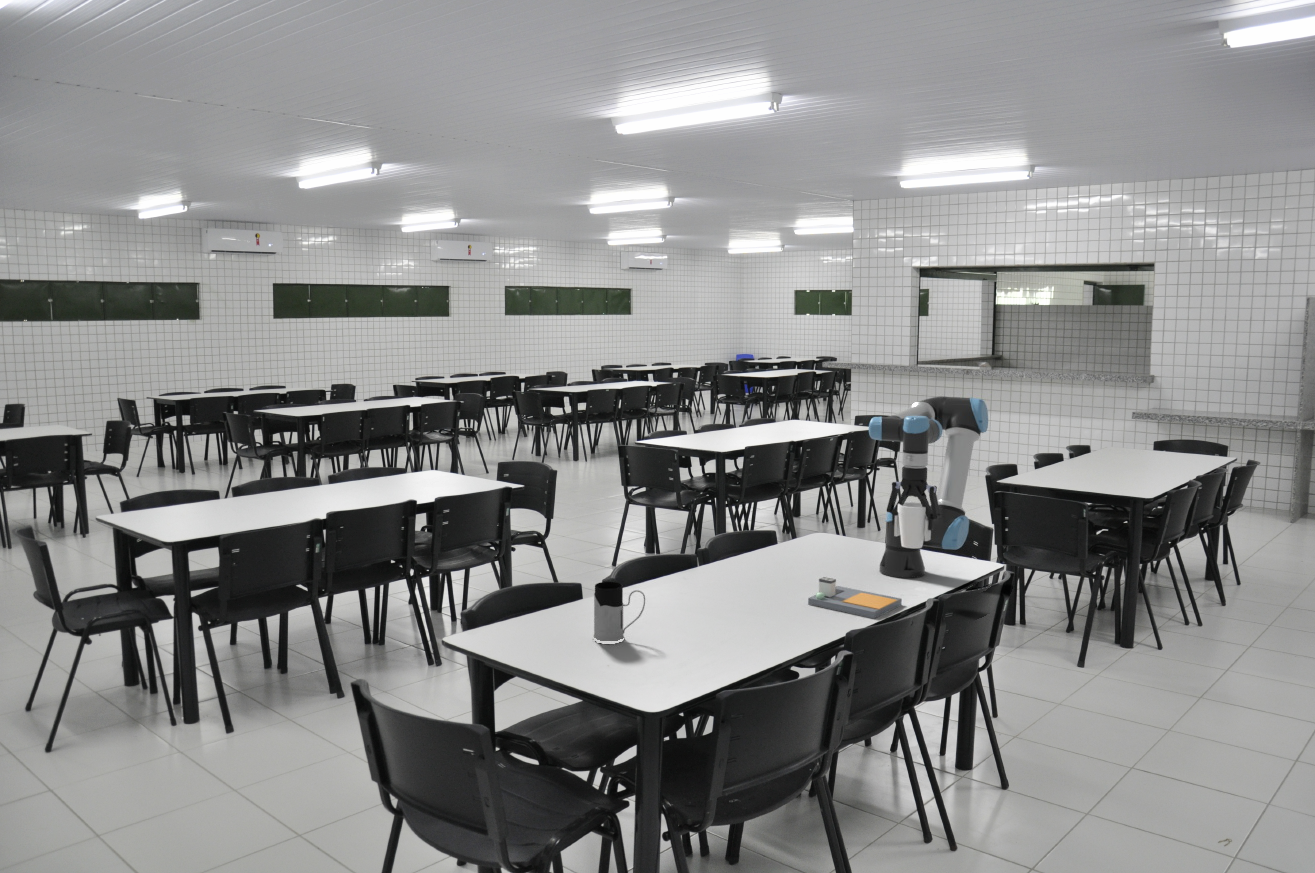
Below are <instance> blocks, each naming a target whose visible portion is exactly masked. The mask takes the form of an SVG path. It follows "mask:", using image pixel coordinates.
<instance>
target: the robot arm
mask: <svg viewBox="0 0 1315 873" xmlns="http://www.w3.org/2000/svg"><path fill="white" fill-rule="evenodd" d="M988 412H989V411H988V407H987V404H986V401H985V400H983V399H981V398H974V397H961V396H960V397H958V396H956V397H955V396H935V397H930V398H926V399H923V400H920V401H917V402H914V403H913V404H912V405H911V406H910V407H909V408H907V409H904V410H902V411H899V412H897V413H894V414H892V415H889V416H887V417H885V416H873V417H872V418H871V419H870V421H869V424H868V434H869V437H870V438H871V440H877V441H880V442H881V441H884V442H901V443H902V461H901V462H902V463H901V464H902V465H903V466H902V468H901V481H893V482H891V492H890V495H889V499H888V503H887V507H886V519H885V549H884V553H883V555H882V558H881V561H880V562H879V571H878V572H880V573H881V574H883V575H886V576H888V577H893V578H894V577H895V578H901V579H902V578H904V579H906V578H907V579H908V578H909V579H911V578H912V579H913V578H920V577H923V576H924V575H925V574H926V573H925V572H926V571H925V570H926V568H925V564H924V560H923V556H922V553H921V548H906V547H903V546H902V544H901V535H900V525H899V514H898V504H900V505H903V504H904V503H905V502H907V499H908V497H915V498H917V499H918V501H919V503H921V504H922V507H926V512H925V513H926V516H927V520H925V535H924V541H923V545H922V547H929V548H930V547H931V548H938V549H943V550H954V551H955V550H958V549H960V548H962V546H963V545H964V543H965V542H966V540H967V537H968V534H969V529H970V528H969V526H970V520H969V518H968V516H967V515H966V511H965V510H964V508H963V507H962V506H963V503H964V501H963V500H964V496H965V490H966V485H967V480H968V476H969V469H970V464H971V459H972V455H973V449H974V444H975V442H976V441H978V440H980V437H981V434H984V433H987V430H988V428H989V413H988ZM943 431H944V434H945V435H946V437H947V443H946V449H945V454H944V459H943V462H942V468H941V473H940V477H939V483H938V487H937V486H936V485H931V484H930V485H929V484H928V482H927V480H928V468H927V466H928V465H929V464H928V462H929V460H928V459H929V444H934V443H936V442H937V441H939V440H940V439H941V437H942V435H943ZM900 489H902V490H903V491H902V493H901V494H900V497H899V499H898V494H899V491H900ZM926 490H927V492H928V496H929V500H928V498H927V494H926ZM897 499H898V501H897ZM896 502H897V503H896ZM929 502H930V503H929Z"/></svg>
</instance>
